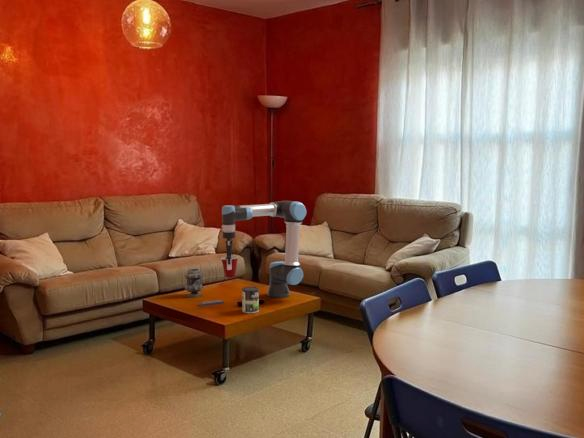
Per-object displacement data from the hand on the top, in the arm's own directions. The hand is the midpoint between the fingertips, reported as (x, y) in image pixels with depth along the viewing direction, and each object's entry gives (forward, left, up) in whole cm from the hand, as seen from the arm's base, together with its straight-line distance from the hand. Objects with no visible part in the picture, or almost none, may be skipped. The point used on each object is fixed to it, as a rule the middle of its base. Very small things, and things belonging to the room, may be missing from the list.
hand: (229, 267), depth 331 cm
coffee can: (-12, -1, -28) cm, 30 cm away
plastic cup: (0, 0, -6) cm, 6 cm away
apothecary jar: (+26, -41, -28) cm, 55 cm away
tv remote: (+13, -18, -28) cm, 36 cm away
